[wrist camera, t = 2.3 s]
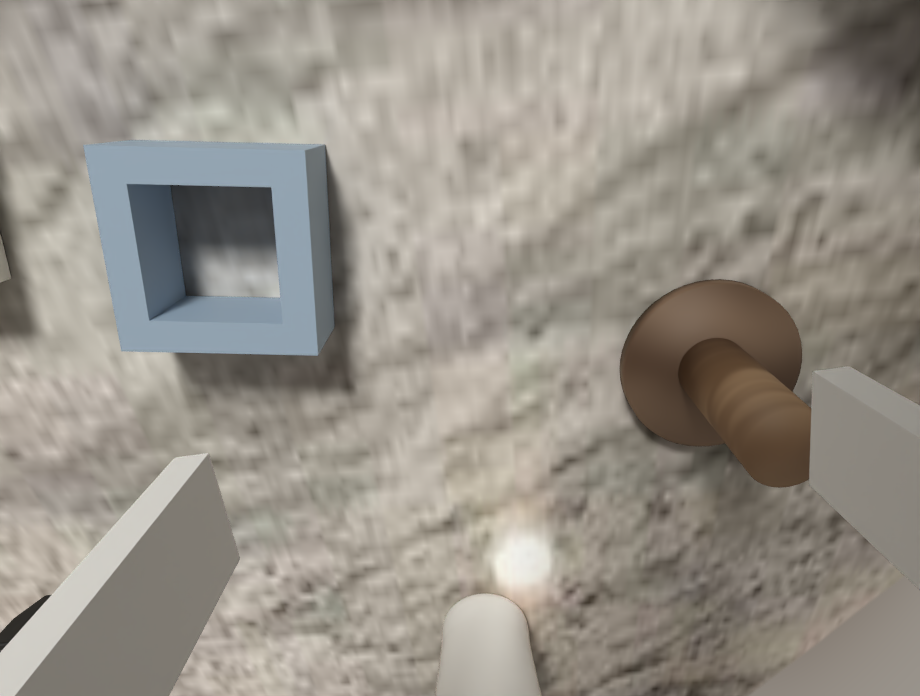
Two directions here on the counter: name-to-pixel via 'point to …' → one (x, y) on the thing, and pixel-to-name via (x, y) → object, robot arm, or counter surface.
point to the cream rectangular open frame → (3, 264)
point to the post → (722, 377)
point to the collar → (158, 256)
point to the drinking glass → (486, 650)
